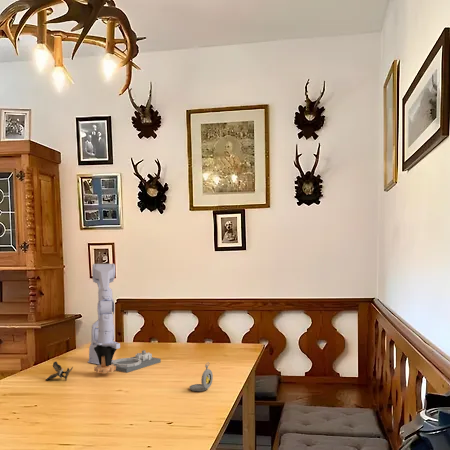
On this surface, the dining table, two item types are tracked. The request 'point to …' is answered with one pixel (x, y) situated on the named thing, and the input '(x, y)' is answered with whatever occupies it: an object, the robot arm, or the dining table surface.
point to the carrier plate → (135, 362)
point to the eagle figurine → (59, 371)
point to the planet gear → (104, 367)
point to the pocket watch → (203, 381)
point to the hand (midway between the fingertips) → (105, 364)
